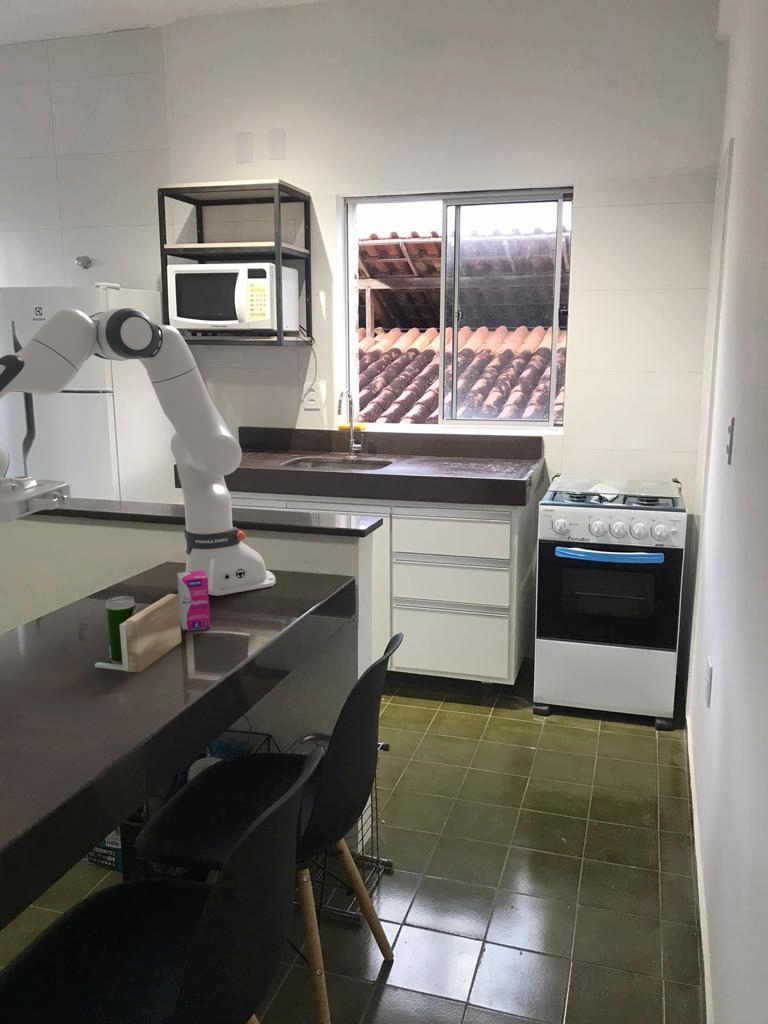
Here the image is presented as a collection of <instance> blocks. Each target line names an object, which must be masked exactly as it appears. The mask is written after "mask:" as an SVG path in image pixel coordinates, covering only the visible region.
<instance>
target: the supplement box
mask: <svg viewBox="0 0 768 1024" xmlns="http://www.w3.org/2000/svg"><path fill="white" fill-rule="evenodd" d="M176 575H177V591H178V593H177V594H178V595H179V611H180V627H181V632H189V631H197V630H198V631H199V630H209V629H210V628H211V622H210V621H211V618H210V600H209V599H210V597H209V595H210V594H209V593H208V578H207V576H206V574H205V571H192V572H185V571H183V572H182V571H181V572H177V574H176Z"/></svg>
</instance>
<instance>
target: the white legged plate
mask: <svg viewBox="0 0 768 1024" xmlns="http://www.w3.org/2000/svg"><path fill="white" fill-rule="evenodd" d="M120 637H121V650H122V663H123V665H119V664H114V663H109V662H99V661H97V662H96V663H95V664H94V668H101V669H109V670H116V671H117V670H118V671H123V672H130V668H129V655H128V642H127V629H126V621H125V622H123V623H122V624H120Z"/></svg>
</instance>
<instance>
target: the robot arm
mask: <svg viewBox="0 0 768 1024" xmlns="http://www.w3.org/2000/svg"><path fill="white" fill-rule="evenodd" d="M92 356H96V357H98V358H100V359H103V360H111V361H119V362H120V361H121V362H123V361H127V360H138V361H139V362H140V363H141V364H142V365H143V367H144V369H145V370H146V372H147V376H148V377H149V381H150V383H151V385H152V388H153V390H154V393H155V396H156V398H157V400H158V402H159V405H160V407H161V409H162V411H163V414H164V415H165V416H166V418H167V419H168V420H169V422H170V423H171V425H172V426H173V429H174V430H175V431H176V432H175V433H174V434H173V436H172V438H171V442H170V450H171V452H172V455H173V458H174V460H175V464H176V468H177V474H178V478H179V482H180V485H181V491H182V495H183V502H184V512H185V513H184V518H185V530H184V536H183V539H184V540H183V541H184V551H185V554H186V563H185V571H184V572H192V571H205V574H206V576H207V578H208V593H209V595H210V596H214V597H215V596H216V597H217V596H219V597H220V596H225V595H229V594H235V593H240V592H247V591H254V590H258V589H265V588H269V587H273V586H275V584H276V576H275V575H274V573H273V572H271V571H270V570H268V569H266V564H265V561H264V559H263V557H262V555H261V554H260V553H259V552H257V551H256V550H254V549H253V548H252V547H250V546H248V545H247V544H246V543H244V542H242V541H244V540H245V539H246V537H247V536H246V533H245V532H244V531H242V530H241V529H239V528H237V527H236V526H233V512H232V509H233V508H232V496H231V493H230V491H229V489H228V487H227V484H226V479H225V478H224V476H228V475H230V474H232V473H234V472H235V471H236V470H237V469H238V468H239V466H240V464H241V462H242V459H243V458H242V457H243V454H242V453H243V451H242V448H241V445H240V443H239V442H238V441H237V439H236V438H235V437H234V436H233V434H232V433H231V431H230V430H229V428H228V426H227V423H226V422H225V420H224V419H223V417H222V415H221V414H220V412H219V411H218V409H217V407H216V405H215V403H214V402H213V400H212V399H211V397H210V394H209V392H208V390H207V387H206V385H205V382H204V380H203V378H202V375H201V372H200V370H199V367H198V365H197V363H196V359H195V358H194V354H193V353H192V352H191V350H190V348H189V346H188V344H187V342H186V341H185V339H184V337H183V335H182V334H181V332H180V331H179V329H177V328H176V327H174V326H173V325H168V324H159V325H158V324H157V323H156V322H154V321H153V320H152V319H151V318H150V317H149V316H148V315H147V314H146V313H144V312H143V311H141V310H138V309H136V308H132V307H125V308H122V307H119V308H111V309H107V310H106V311H100V312H98V313H95V314H92V315H90V316H89V315H87V314H86V313H85V312H84V311H81V310H79V309H76V308H71V307H66V308H65V307H64V308H60V309H59V310H58V311H57V312H55V313H54V314H53V315H52V316H50V318H48V320H46V321H45V323H43V325H42V326H41V327H40V328H39V329H37V331H36V332H35V333H34V335H33V336H32V338H31V339H30V340H29V341H28V343H27V344H26V345H24V346H23V348H21V349H20V350H19V351H17V352H16V353H14V354H6V355H2V357H0V400H1V399H2V398H3V397H5V396H7V395H8V394H11V393H13V392H24V393H28V394H32V395H38V396H51V395H56V394H58V393H61V392H62V391H64V389H65V388H67V387H68V386H69V385H70V384H71V383H72V381H73V379H74V378H75V377H76V375H77V374H78V373H79V371H80V369H81V368H82V366H83V365H84V363H85V362H86V361H87V360H88V359H89V358H90V357H92ZM9 466H10V455H9V452H8V450H7V448H5V446H3V445H2V444H1V443H0V523H5V524H6V523H11V522H13V521H15V520H17V519H20V518H22V517H25V516H28V515H31V514H33V513H36V512H39V511H43V510H44V511H45V510H50V511H52V510H55V509H58V508H59V507H60V506H66V505H69V504H70V503H71V498H72V497H71V489H70V488H71V487H70V484H69V483H68V482H66V481H60V480H53V479H34V477H33V476H27V475H26V476H18V477H16V476H15V477H8V476H7V477H6V475H7V473H8V469H9Z"/></svg>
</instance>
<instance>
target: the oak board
mask: <svg viewBox="0 0 768 1024" xmlns="http://www.w3.org/2000/svg"><path fill="white" fill-rule="evenodd" d="M126 629H127V642H128V655H129V668H130V671H129V672H130V673H141V672H142V671H144V670H145V669H146V668H148V667H149V666H151V665H152V664H153V663H154V662H156V661H157V660H159V659H160V658H161V657H163V656H165V655H166V654H167V653H169V652H170V651H171V650H172V649H173V648H175V647H176V646H177V645H179V644H181V642H182V627H181V625H180V611H179V595H178V593H177V594H176V593H175V594H174V593H168V594H167V595H165V596H164V597H162V598H160V599H159V600H157V601H155V602H154V603H152V604H150V605H148V606H147V607H146V608H143V609H142V610H141V611H139V612H136V614H135V615H134V616H132V617H130V618H129V619H127V620H126Z"/></svg>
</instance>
